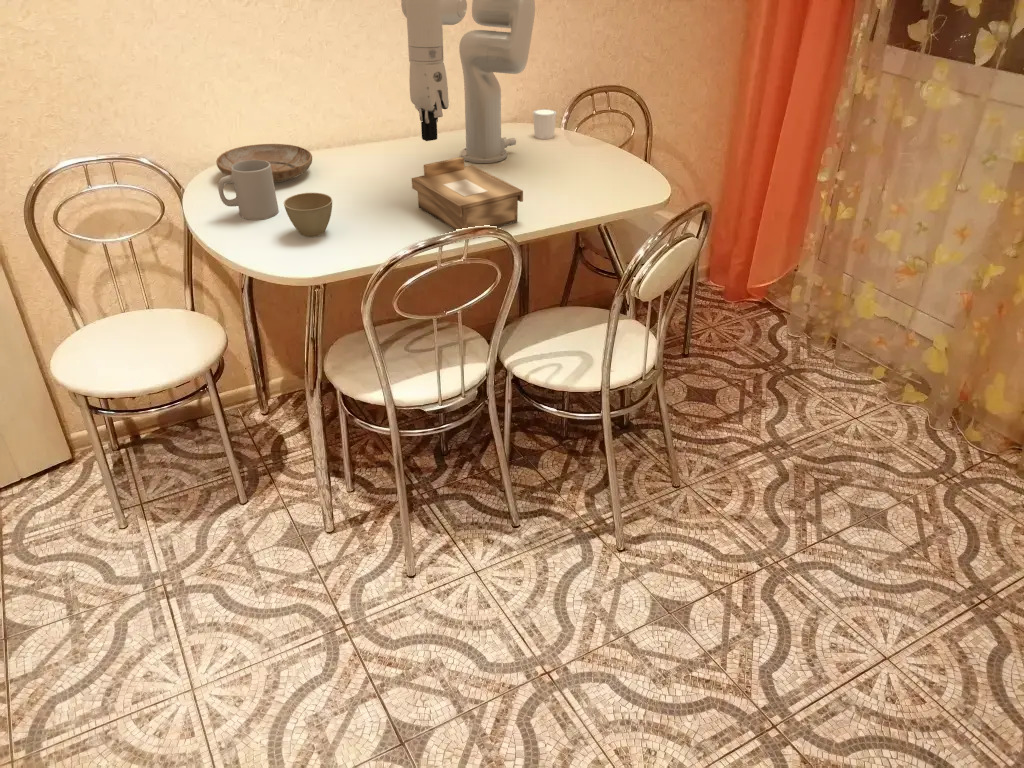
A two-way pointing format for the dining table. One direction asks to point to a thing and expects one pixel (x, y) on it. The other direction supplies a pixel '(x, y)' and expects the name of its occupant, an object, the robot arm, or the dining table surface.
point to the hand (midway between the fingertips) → (429, 139)
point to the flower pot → (309, 212)
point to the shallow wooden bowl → (269, 159)
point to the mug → (251, 189)
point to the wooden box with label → (461, 185)
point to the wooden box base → (474, 213)
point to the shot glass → (544, 123)
